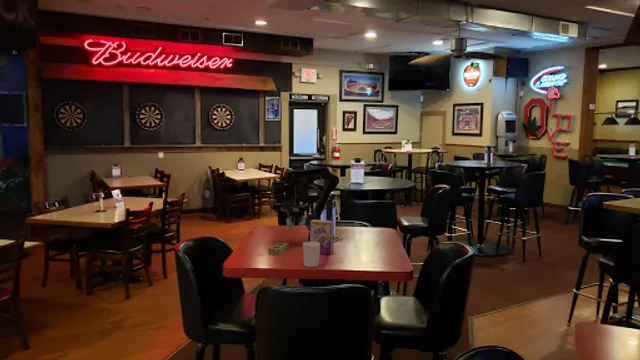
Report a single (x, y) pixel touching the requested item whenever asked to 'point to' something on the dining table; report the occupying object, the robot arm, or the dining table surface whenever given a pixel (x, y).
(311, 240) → the candy bar box
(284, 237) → the dining table surface
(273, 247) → the brown block with holes
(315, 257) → the white cup
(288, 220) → the clip
